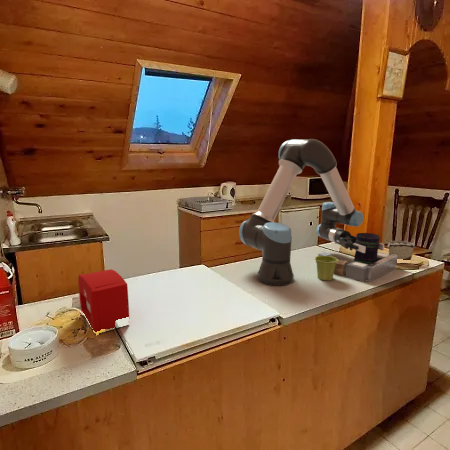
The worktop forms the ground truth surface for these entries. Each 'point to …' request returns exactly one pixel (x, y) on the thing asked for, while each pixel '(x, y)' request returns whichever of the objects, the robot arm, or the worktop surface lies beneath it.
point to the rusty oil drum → (367, 248)
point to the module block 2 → (381, 256)
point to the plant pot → (325, 267)
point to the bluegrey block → (324, 254)
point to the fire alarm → (103, 298)
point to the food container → (401, 249)
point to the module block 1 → (356, 270)
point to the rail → (381, 267)
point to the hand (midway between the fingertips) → (374, 248)
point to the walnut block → (340, 267)
